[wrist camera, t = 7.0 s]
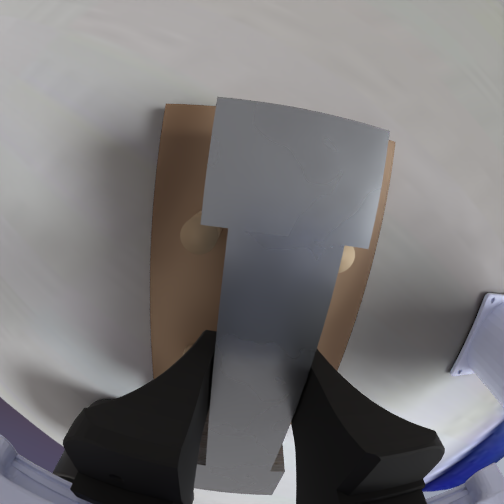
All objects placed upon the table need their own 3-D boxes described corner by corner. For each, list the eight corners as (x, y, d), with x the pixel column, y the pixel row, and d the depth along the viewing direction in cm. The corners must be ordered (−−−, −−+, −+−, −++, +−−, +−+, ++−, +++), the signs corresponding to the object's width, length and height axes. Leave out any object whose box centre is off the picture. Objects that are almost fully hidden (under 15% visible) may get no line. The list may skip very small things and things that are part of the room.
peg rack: (386, 143, 14) (418, 139, 11) (311, 413, 20) (318, 447, 16) (172, 108, 14) (149, 93, 10) (160, 396, 19) (148, 429, 16)
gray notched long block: (232, 124, 11) (217, 97, 6) (337, 142, 11) (389, 130, 6) (202, 425, 16) (191, 487, 11) (269, 432, 16) (271, 494, 11)
